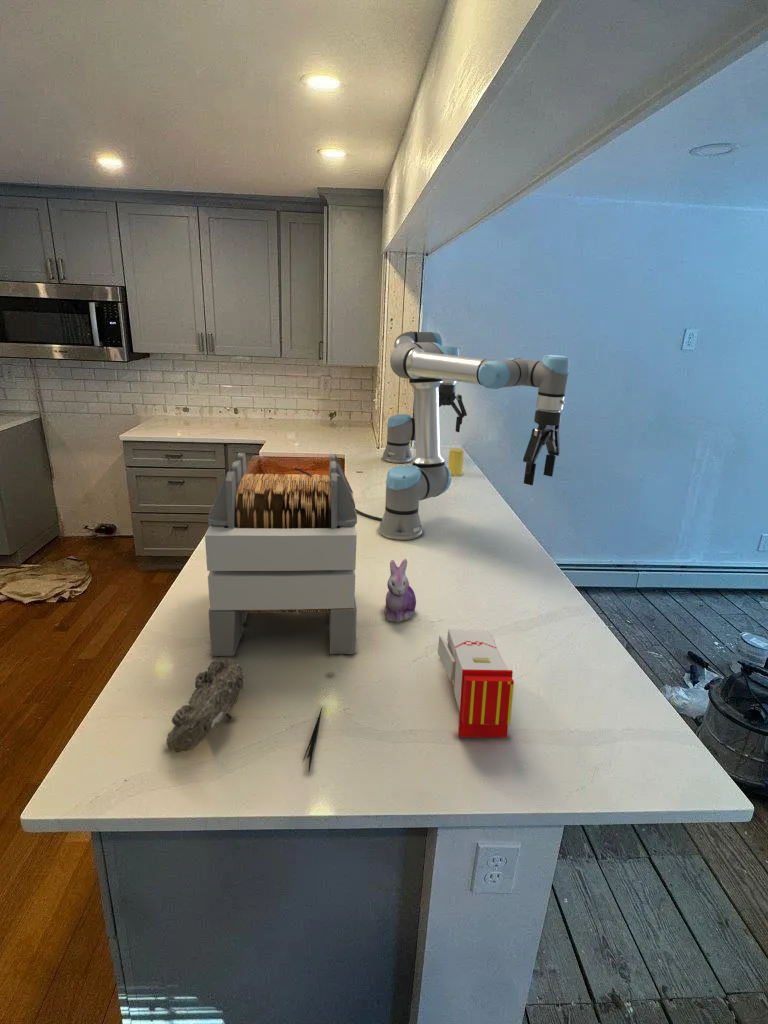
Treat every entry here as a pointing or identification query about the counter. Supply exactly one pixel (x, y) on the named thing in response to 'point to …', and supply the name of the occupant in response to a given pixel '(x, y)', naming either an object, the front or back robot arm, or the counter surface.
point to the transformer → (281, 552)
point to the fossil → (206, 705)
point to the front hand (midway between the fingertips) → (538, 479)
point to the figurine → (399, 594)
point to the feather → (313, 740)
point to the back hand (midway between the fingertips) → (443, 432)
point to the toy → (478, 682)
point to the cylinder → (456, 461)
